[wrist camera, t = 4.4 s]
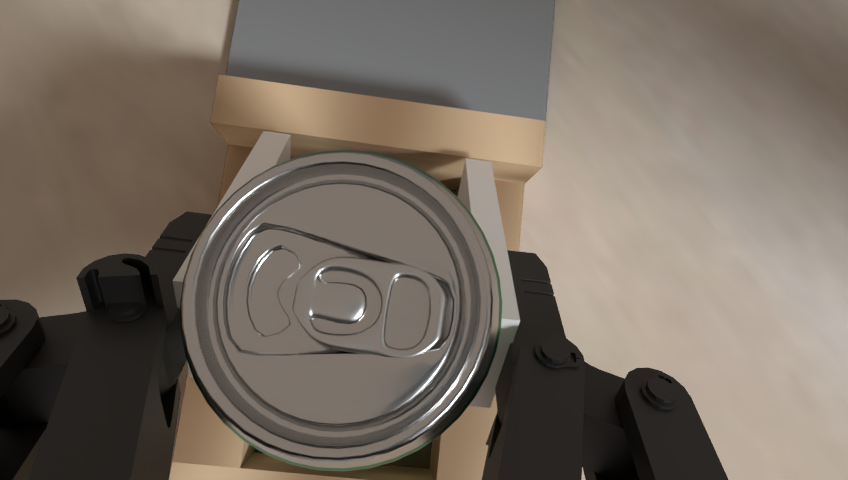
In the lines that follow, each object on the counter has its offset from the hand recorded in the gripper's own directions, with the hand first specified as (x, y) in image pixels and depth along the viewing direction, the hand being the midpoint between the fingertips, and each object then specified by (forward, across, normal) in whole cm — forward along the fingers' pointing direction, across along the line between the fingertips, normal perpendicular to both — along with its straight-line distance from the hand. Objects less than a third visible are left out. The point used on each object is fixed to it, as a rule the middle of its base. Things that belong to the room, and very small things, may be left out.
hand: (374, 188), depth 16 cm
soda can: (0, 0, +6) cm, 6 cm away
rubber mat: (+8, 0, -3) cm, 9 cm away
